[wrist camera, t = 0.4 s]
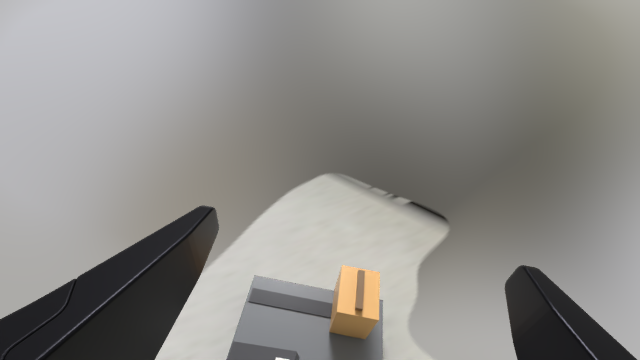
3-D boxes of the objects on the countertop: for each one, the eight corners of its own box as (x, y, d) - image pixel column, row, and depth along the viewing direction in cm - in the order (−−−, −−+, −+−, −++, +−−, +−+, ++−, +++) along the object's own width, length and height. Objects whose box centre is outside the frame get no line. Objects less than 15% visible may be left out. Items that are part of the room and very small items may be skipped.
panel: (370, 441, 19) (387, 440, 16) (219, 409, 19) (207, 401, 16) (373, 313, 24) (386, 293, 21) (257, 290, 24) (253, 268, 21)
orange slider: (365, 339, 20) (380, 317, 17) (329, 332, 20) (337, 309, 17) (366, 296, 22) (381, 269, 19) (334, 289, 22) (342, 262, 19)
